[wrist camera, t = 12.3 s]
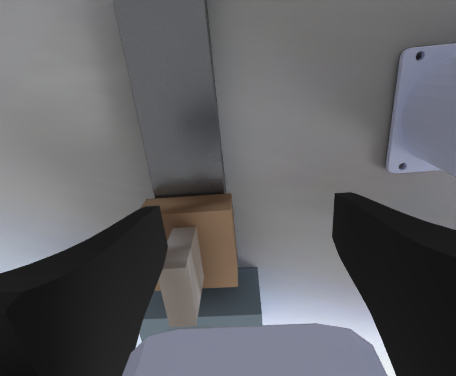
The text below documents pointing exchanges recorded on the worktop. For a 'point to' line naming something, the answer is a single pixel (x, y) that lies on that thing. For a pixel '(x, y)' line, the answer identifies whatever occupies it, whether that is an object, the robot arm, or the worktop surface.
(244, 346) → the robot arm
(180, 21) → the rail
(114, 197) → the worktop surface
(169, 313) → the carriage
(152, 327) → the blue grey control box
